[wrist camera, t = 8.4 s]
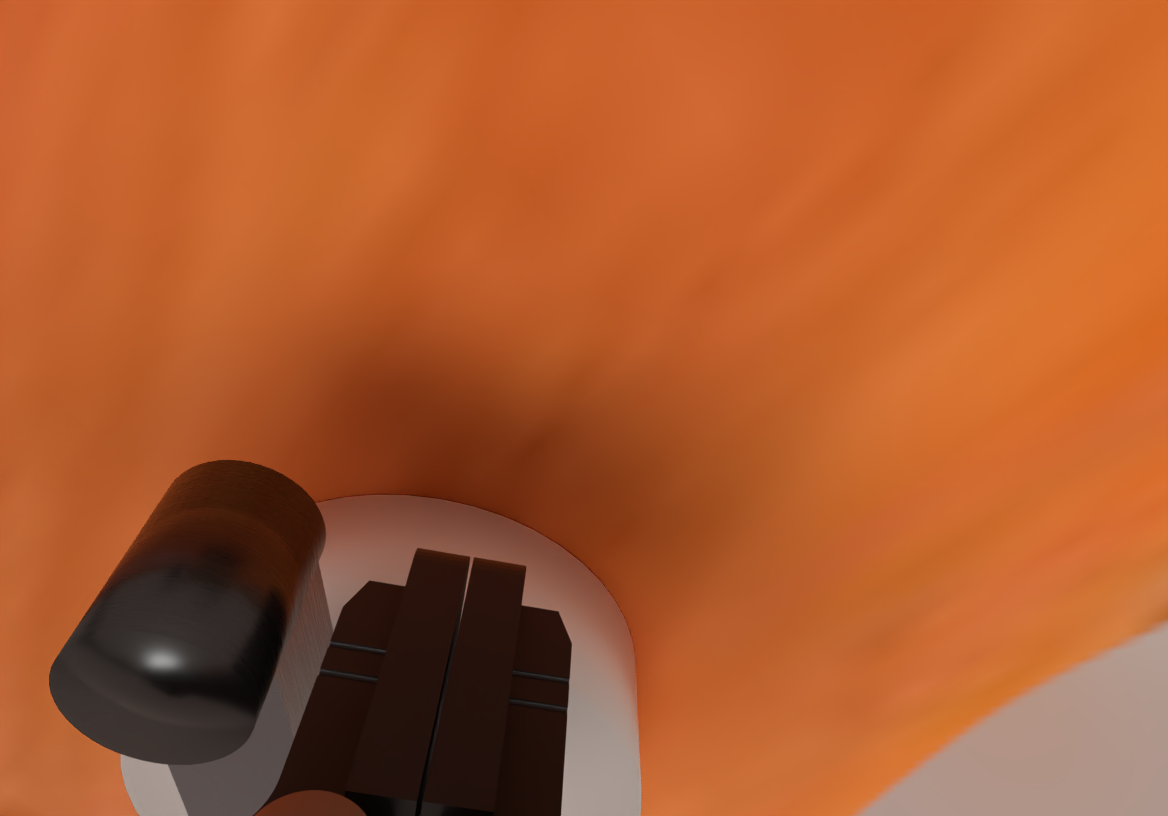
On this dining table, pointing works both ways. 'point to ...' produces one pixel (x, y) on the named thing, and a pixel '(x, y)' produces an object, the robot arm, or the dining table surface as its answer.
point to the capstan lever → (206, 637)
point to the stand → (385, 553)
